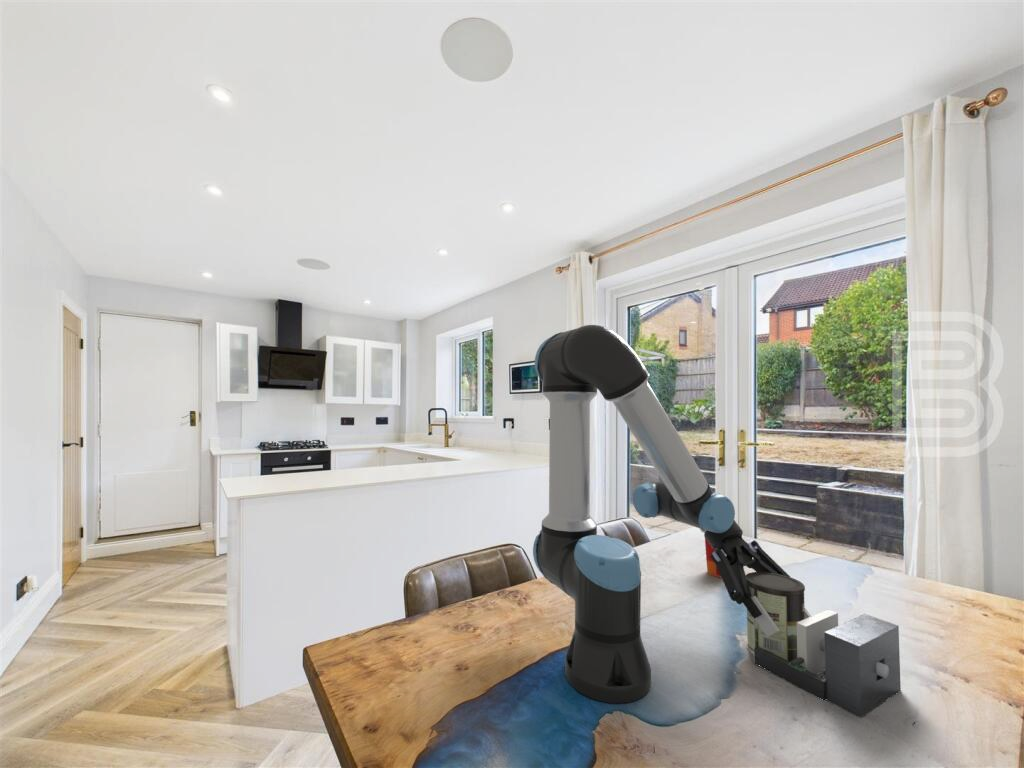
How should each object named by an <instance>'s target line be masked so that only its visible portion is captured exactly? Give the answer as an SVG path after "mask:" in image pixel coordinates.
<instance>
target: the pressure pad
mask: <svg viewBox="0 0 1024 768" xmlns="http://www.w3.org/2000/svg"><path fill="white" fill-rule="evenodd" d="M837 626H839V613H838V612H836V611H833V610H831V609H827V610H823V611H821V612H819V613H817V614H813V615H811V617H809V618H807V619H804V620H802V621H799V622H797V659H795V660H793V661H791V662H790V664H791V666H793V667H796V666H798V665H800V666H802V667H805V668H806V670H808V671H810V672H812V673H814V674H816V675H818V674H819V673H821V672H823V671H825V637H824V632H826V631H828V630H830V629H832V628H835V627H837ZM876 671H877V675H879V676H881V677H883V678H887V676H888V673H889V668H888V666H887V665H885V664H882V663H880V662H877V663H876Z"/></svg>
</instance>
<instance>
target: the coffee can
mask: <svg viewBox="0 0 1024 768" xmlns="http://www.w3.org/2000/svg"><path fill="white" fill-rule="evenodd" d="M745 575H746V578H747V582H748V585H749V589H750V592H751V598H752V597H754V596H756V597H757V599H758V600H759V602H760V603H761V604H762V606H763V607H764V609H765V610H766V611H767V613H768V614H769V616H770V617H771V619H772V620H773V621H774V623H775V624H776V626H777V627H778V629H779V631H778V632H776V633H774V634H773V635H771V636H769V637H767V636H766V634H765V633H764V631H763V630H762V628H761V627H760V625H759V624H758V622H757V621H756V620H755V618H753V617H752V615H751V614H750V612H749V611H748V610H747V609H746V622H747V623H746V624H747V625H746V628H747V634H746V635H747V643H746V646H748V647H747V650H748V651H749V650H750V651H751V652H752V653H753V654H754V648H755V647H757V646H759V647H761V648H763V649H765V650H767V651H769V652H771V653H773V654H775V655H777V656H779V657H781V658H783V659H786V660H788V661H790V662H791V661H793V660H795V659H797V622H799V621H802V620H804V619H805V610H804V609H805V608H806V607H805V591H806V585H805V584H804V583H803V582H802V581H800V580H798V579H796V578H793V577H791V576H790V577H788V576H785V575H781V574H776V573H769V572H756V571H752V572H748V573H747V574H745ZM750 651H749V652H750ZM751 652H750V653H751ZM752 653H751V654H752ZM753 654H752V655H753Z"/></svg>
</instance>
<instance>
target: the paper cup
mask: <svg viewBox="0 0 1024 768" xmlns="http://www.w3.org/2000/svg"><path fill="white" fill-rule="evenodd" d="M704 545H705V560H706V569H707V574H708V575H709V576H712V577H715V576H716V577H715V578H722V577H721V575H720V573H719V570H718V568H717V566H716V564H715V562H714V561H713V560H712V558H711V557H710V555H711V554H712V553H713V552H714V551H716V550H717V549H713V548H712V547H711V545H710V544H709V542H708V541H707V539H706V538H705V537H704Z"/></svg>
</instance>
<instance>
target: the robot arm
mask: <svg viewBox="0 0 1024 768" xmlns="http://www.w3.org/2000/svg"><path fill="white" fill-rule="evenodd" d="M534 369H535V372H536V374H537V377H539V379H540V381H541V382H542V395H543V396H544V397H545V398H546V399H547V401H548V403H549V455H548V456H549V457H548V459H549V460H548V461H549V463H548V465H549V466H548V467H549V472H548V473H549V474H548V475H549V477H548V481H549V482H548V483H549V484H548V485H549V486H548V514H547V515H546V516H545V517H544V518H543V519H542V520H541V528H540V531H539V533H538V535H536V536H535V539H534V542H533V545H532V556H533V561H534V564H535V566H536V568H537V569H538V571H539V572H540V573H541V574H542V576H543V577H544V579H546V580H547V581H548V582H549V583H551V584H552V585H554V586H555V587H557V588H559V590H561V591H562V592H563V593H565V594H566V595H567V596H568V597H570V598H571V599H572V600H574V631H573V633H572V638H571V640H570V643H569V647H568V649H567V652H566V655H565V660H564V661H565V662H564V674H565V677H566V680H567V682H568V683H569V684H570V686H572V688H573V689H575V691H577V692H579V693H580V694H582V695H583V696H585V697H588V698H591V699H593V700H596V701H600V702H603V703H609V704H610V703H611V704H624V703H630V702H635V701H637V700H639V699H642V698H643V697H644V696H646V695H647V694H648V693H649V692H650V689H651V687H652V669H651V665H650V663H649V659H648V656H647V653H646V650H645V646H644V642H643V640H642V635H641V613H642V612H641V606H642V605H641V604H642V602H641V600H642V599H641V597H642V595H641V594H642V593H641V587H642V583H641V582H642V571H641V563H640V556H639V554H638V552H637V551H636V549H635V548H634V547H633V546H632V545H631V544H629V543H627V542H626V541H624V540H622V539H619V538H617V537H610V536H608V535H604V534H603V535H601V534H598V530H597V529H598V523H597V522H596V521H595V520H594V519H593V518H592V516H591V515H590V506H591V503H590V498H591V497H590V495H591V493H590V491H591V490H590V489H591V488H590V487H591V485H590V484H591V483H590V479H591V476H590V475H591V474H590V473H591V472H590V470H591V469H590V467H591V465H590V463H591V461H590V459H591V458H590V455H591V454H590V452H591V450H590V448H591V447H590V445H591V443H590V441H591V437H590V436H591V433H590V432H591V431H590V430H591V429H590V428H591V417H590V416H591V401H592V400H593V399H595V397H596V396H598V391H599V393H600V394H601V395H602V397H603V399H604V400H605V401H608V402H612V403H613V405H614V406H615V408H616V409H617V411H618V413H619V414H620V416H621V418H622V419H623V421H624V422H625V424H626V426H627V427H628V429H629V430H630V433H632V435H633V437H634V438H635V440H636V442H637V443H638V444H639V446H640V448H641V449H642V451H643V453H644V454H645V456H646V457H647V459H648V460H649V462H650V463H651V465H652V467H653V468H654V470H655V472H656V473H657V475H658V476H659V478H660V480H656V481H647V482H645V483H643V484H639V485H636V487H635V488H634V489H633V492H632V493H631V494H632V495H631V496H632V505H633V507H634V509H635V511H636V512H637V514H638V515H639V516H641V517H642V518H644V519H645V518H646V519H650V518H654V519H655V518H656V517H660V516H661V517H664V518H668V519H671V520H673V521H677V522H681V523H683V524H686V525H689V526H691V527H695V528H696V529H697V528H698V529H699V530H700V532H701V533H704V534H703V535H704V536H703V537H704V539H705V538H706V539H707V541H708V542H709V544H710V545H711V547H712V548H713V549H717V550H716V551H714V552H713V553H712V554H711V555H710V557H711V558H712V560H713V561H714V562H715V564H716V566H717V568H718V570H719V573H720V575H721V577H720V578H721V579H722V582H723V584H724V586H725V588H726V590H727V593H728V596H729V598H730V599H731V600H732V602H736V604H738V605H741V604H743V605H744V606H745V608H746V611H747V610H748V611H749V612H750V614H751V615H752V617H753V618H755V620H756V621H757V622H758V624H759V625H760V627H761V628H762V630H763V631H764V633H765V634H766V636H767V637H769V636H771V635H773V634H774V633H776V632H778V631H779V629H778V627H777V626H776V624H775V623H774V621H773V620H772V619H771V617H770V616H769V614H768V613H767V611H766V610H765V609H764V607H763V606H762V604H761V603H760V602H759V600H758V599H757V597H756V596H754V597H752V598H751V592H750V589H749V585H748V582H747V578H746V575H747V574H746V572H745V568H744V567H747V568H748V569H752V570H753V571H754V572H769V573H776V574H781V575H785V576H788V577H791V576H790V575H789V574H788V572H786V571H785V570H784V569H783V568H782V567H781V566H780V565H779V564H778V563H777V562H776V561H775V560H774V559H773V558H772V557H771V556H770V555H769V554H768V553H766V551H765V550H764V549H763V548H762V547H761V545H760V544H759V543H758V541H756V540H752V541H751V542H750V543H748V542H747V541H745V539H744V538H743V532H744V531H743V530H742V528H741V527H740V526H739V524H738V523H737V521H736V520H735V515H736V511H735V506H734V503H733V502H732V500H731V499H730V498H728V497H727V496H725V495H723V494H721V493H716V492H714V491H713V489H712V487H711V486H710V484H709V483H708V481H707V479H706V477H705V476H704V474H703V472H702V471H701V469H700V467H699V466H698V464H697V462H696V460H695V459H694V457H693V455H692V454H691V452H690V451H689V449H688V447H687V446H686V444H685V442H684V440H683V439H682V438H681V437H682V436H681V435H680V433H679V432H678V431H677V428H675V426H674V424H673V422H672V420H671V419H670V418H669V415H668V414H667V412H666V411H665V408H664V407H663V406H662V404H661V402H660V400H659V398H658V397H657V395H656V394H655V392H654V390H653V388H652V387H651V385H650V384H649V382H648V381H649V378H650V373H649V372H648V370H647V368H646V366H645V365H644V363H643V362H642V360H641V359H640V357H639V356H638V354H637V353H636V352H635V350H634V349H633V348H632V347H631V346H630V345H629V344H628V342H626V341H625V339H624V338H623V337H621V336H620V335H619V334H618V333H616V332H615V331H614V330H611V329H609V328H608V327H606V326H604V325H602V326H601V325H598V324H587V325H583V326H579V327H577V328H573V329H570V330H566V331H562V332H561V331H559V332H558V333H554V334H553V335H552V336H549V337H548V338H546V339H545V340H544V341H543V342H542V343H541V344H540V345H539V347H538V349H537V351H536V354H535V357H534ZM804 610H805V619H807V618H809V617H811V616H812V614H811V613H810V612H809V611H808V610H807V609H806V607H805V609H804Z"/></svg>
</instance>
